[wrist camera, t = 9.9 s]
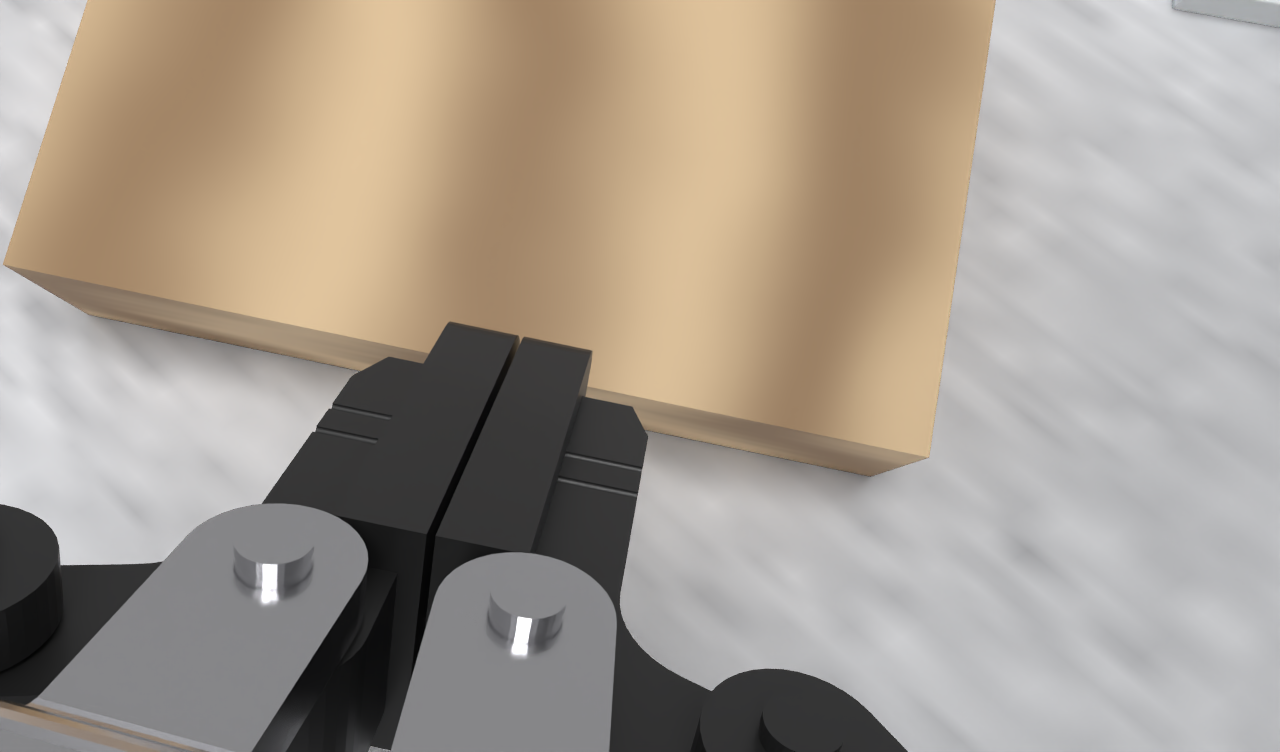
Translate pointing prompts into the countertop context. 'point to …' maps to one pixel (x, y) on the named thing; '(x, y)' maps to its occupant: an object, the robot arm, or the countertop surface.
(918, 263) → the wooden block
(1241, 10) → the external hard drive
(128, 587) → the robot arm
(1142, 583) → the countertop surface
